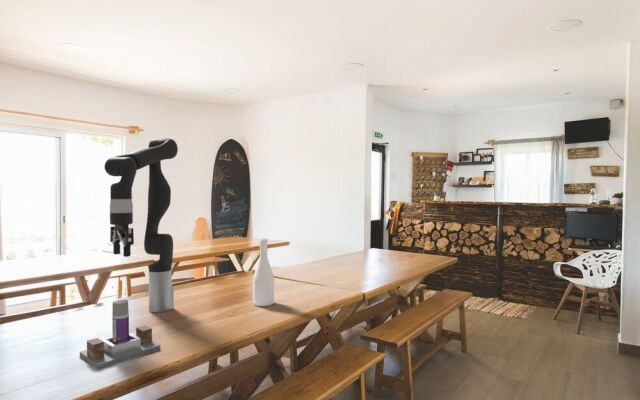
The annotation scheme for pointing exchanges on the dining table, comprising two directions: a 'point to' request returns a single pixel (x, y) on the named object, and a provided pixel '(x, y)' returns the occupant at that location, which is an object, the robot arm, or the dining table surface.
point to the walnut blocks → (97, 346)
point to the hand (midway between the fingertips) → (121, 255)
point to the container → (120, 321)
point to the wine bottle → (263, 279)
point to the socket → (121, 345)
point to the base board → (119, 355)
